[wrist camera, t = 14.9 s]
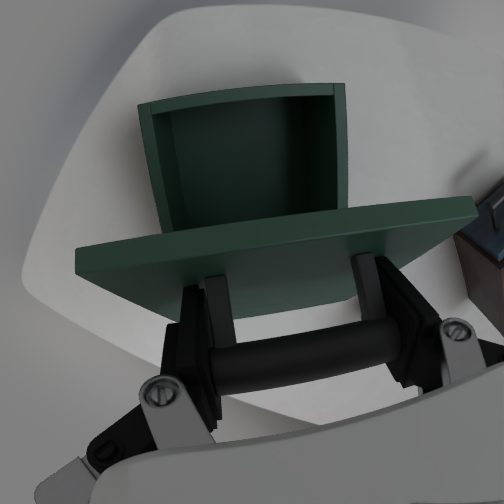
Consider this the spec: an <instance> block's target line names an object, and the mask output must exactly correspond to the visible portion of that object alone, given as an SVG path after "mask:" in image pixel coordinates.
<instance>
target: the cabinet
mask: <svg viewBox="0 0 504 504" xmlns="http://www.w3.org/2000/svg"><path fill="white" fill-rule="evenodd" d="M453 237H454V240H455V243H456V247H457V250H458V254H459V258H460V262H461V265H462V269H463V274H464V278H465V282H466V286H467V291H468V296H469V299H470V300H471V301H472V302H473V303H474V304H475V305H476V306H477V308H478V309H479V310H480V311H481V312H482V313H483V314H484V315H485V316H486V317H487V318H488V320H489V321H490V322H491V323H492V324H493V325H494V326H495V327H496V329H497V330H498V331H499V332H500V333H501V335H502V336H503V337H504V260H503V261H502V262H501V263H500V262H498V261H497V260H495V259H494V258H493V257H492V256H490V255H489V254H488V253H487V252H485V251H484V250H483V249H482V248H480V247H479V246H478V245H477V244H475V243H474V242H473V241H472V240H470V239H469V238H468V237H466V236H465V235H464V234H462V233H461V232H460V231H457V232H456V233H454V234H453Z"/></svg>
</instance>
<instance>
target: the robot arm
mask: <svg viewBox="0 0 504 504" xmlns="http://www.w3.org/2000/svg"><path fill="white" fill-rule="evenodd" d="M374 259H375V263H376V267H377V271H378V275H379V279H380V284H381V288H382V293H383V297H384V302H385V307H386V311H387V315H390V316H392V317H393V318H394V319H395V321H396V322H397V324H398V326H399V329H400V332H401V337H402V350H401V354H400V356H399V357H398V358H397V359H396V360H393V361H390V362H386V365H387V367H388V369H389V370H390V372H391V374H392V376H393V377H394V379H395V381H396V382H400V383H401V385H402V387H403V389H404V388H407V387H410V386H413V385H416V386H418V397H415V398H412V399H409V400H406V401H404V402H401V403H398V404H395V405H392V406H389V407H386V408H382V409H379V410H376V411H373V412H369V413H366V414H363V415H359V416H356V417H352V418H348V419H344V420H341V421H337V422H333V423H329V424H324V425H320V426H316V427H311V428H307V429H302V430H297V431H292V432H287V433H282V434H276V435H271V436H264V437H258V438H251V439H244V440H237V441H229V442H221V443H216V442H215V441H214V439H213V437H212V435H211V434H210V433H211V432H212V431H213V429H217V420H222V407H221V396H218V395H217V394H216V392H215V390H214V386H213V382H212V377H211V370H210V361H209V351H210V348H211V347H214V346H213V339H212V332H211V325H210V318H209V310H208V302H207V297H206V292H205V289H204V288H202V289H199V286H198V285H195V286H188V287H183V294H182V303H181V312H180V321H179V323H171V324H167V327H166V333H165V340H164V347H163V355H162V362H161V371H160V375H158V376H154V377H152V378H150V379H148V380H147V381H146V382H145V383H144V384H143V385H142V387H141V388H140V391H139V400H140V404H139V405H138V406H137V407H135V408H134V409H133V410H131V411H130V412H129V413H128V414H126V415H125V416H123V417H122V418H121V419H119V420H118V421H117V422H115V423H114V424H113V425H111V426H110V427H109V428H107V429H106V430H105V431H103V432H102V433H101V434H99V435H98V436H97V437H95V438H94V439H93V440H92V441H91V442H90V444H89V446H88V448H87V452H86V456H84V457H83V458H82V459H81V458H80V457H77V458H76V459H74V460H73V461H71V462H70V463H68V464H67V465H66V466H65V467H63V468H61V469H60V470H59V471H57V472H56V473H54V474H53V475H51V476H50V477H48V478H47V479H46V480H44V481H43V482H41V483H40V484H39V485H38V486H37V487H36V490H35V492H34V499H35V502H36V504H504V346H503V345H499V344H496V343H492V342H489V341H485V340H482V339H478V338H477V336H476V333H475V330H474V329H473V327H472V326H471V325H470V324H469V323H468V322H467V321H465V320H463V319H460V318H447V319H445V320H443V321H442V320H441V318H440V317H439V314H438V313H437V312H436V311H435V310H434V308H433V307H432V306H431V305H430V304H429V303H428V302H427V300H426V299H425V298H424V297H423V296H422V295H421V294H420V293H419V291H418V290H417V289H416V288H415V287H414V286H413V285H412V284H411V283H410V281H409V280H408V279H407V278H406V277H405V276H404V275H403V274H402V273H401V272H400V271H399V270H398V268H397V267H396V266H395V265H394V264H393V263H392V262H391V261H390V260H389V259H388V258H387V257H386V256H381V257H375V258H374ZM361 319H362V320H363V318H362V314H361Z"/></svg>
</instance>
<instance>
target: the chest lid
mask: <svg viewBox="0 0 504 504" xmlns="http://www.w3.org/2000/svg"><path fill="white" fill-rule="evenodd" d="M478 216H479V214H478V211H477V208H476V206H475V203H474V200H473V198H472V196H461V197H449V198H438V199H427V200H417V201H407V202H397V203H388V204H378V205H369V206H360V207H352V208H343V209H334V210H326V211H318V212H310V213H302V214H294V215H286V216H279V217H271V218H264V219H257V220H249V221H242V222H235V223H228V224H221V225H215V226H208V227H201V228H194V229H188V230H181V231H175V232H169V233H162V234H156V235H150V236H144V237H138V238H132V239H126V240H120V241H114V242H108V243H103V244H97V245H91V246H86V247H80V248H76V250H75V274H76V275H78V276H80V277H82V278H84V279H86V280H87V281H89V282H91V283H93V284H95V285H97V286H99V287H101V288H103V289H105V290H108V291H110V292H112V293H114V294H116V295H118V296H120V297H122V298H124V299H126V300H128V301H131V302H133V303H135V304H137V305H139V306H141V307H144V308H146V309H148V310H150V311H152V312H155V313H157V314H159V315H161V316H164V317H166V318H168V319H171V320H173V321H175V322H178V323H179V321H180V312H181V303H182V294H183V287H188V286H195V285H198V286H199V289H202V288H204V289H205V292H206V297H207V302H208V310H209V318H210V325H211V332H212V339H213V346H214V347H211V348H210V351H209V361H210V370H211V377H212V382H213V386H214V390H215V392H216V394H217V395H218V396H223V395H232V394H239V393H246V392H253V391H260V390H266V389H272V388H278V387H284V386H289V385H294V384H300V383H305V382H310V381H314V380H319V379H324V378H328V377H332V376H337V375H341V374H345V373H349V372H353V371H357V370H361V369H365V368H369V367H372V366H376V365H379V364H383V363H386V362H390V361H393V360H396V359H397V358H398V357H399V356H400V354H401V350H402V337H401V332H400V329H399V326H398V324H397V322H396V321H395V319H394V318H393V317H392V316H390V315H387V311H386V307H385V302H384V297H383V293H382V288H381V284H380V279H379V275H378V271H377V267H376V263H375V259H374V258H375V257H381V256H386V257H387V258H388V259H389V260H390V261H391V262H392V263H393V264H394V265H395V266H396V267H397V268H398V270H399V269H400V268H402V267H404V266H405V265H407V264H408V263H410V262H412V261H413V260H415V259H416V258H418V257H419V256H421V255H423V254H424V253H426V252H427V251H429V250H430V249H432V248H433V247H435V246H436V245H438V244H439V243H441V242H442V241H444V240H445V239H447V238H448V237H450V236H451V235H453V234H454V233H456V232H457V231H459V230H460V229H462V228H463V227H465V226H466V225H467V224H469V223H470V222H472V221H473V220H475V219H476V218H477V217H478ZM357 294H358V298H359V303H360V308H361V313H362V318H363V320H362V321H357V322H353V323H348V324H344V325H339V326H334V327H329V328H324V329H319V330H314V331H309V332H303V333H298V334H293V335H287V336H281V337H275V338H269V339H263V340H257V341H250V342H243V343H237V342H236V335H235V329H234V322H233V320H234V319H241V318H247V317H254V316H260V315H267V314H273V313H279V312H285V311H291V310H297V309H303V308H308V307H314V306H319V305H325V304H330V303H335V302H340V301H345V300H348V299H349V298H351V297H353V296H355V295H357Z"/></svg>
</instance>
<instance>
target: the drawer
mask: <svg viewBox="0 0 504 504" xmlns="http://www.w3.org/2000/svg"><path fill="white" fill-rule="evenodd" d="M477 211H478V214H479V216H478V217H477V218H476V219H475V220H473V221H472V222H470V223H469V224H467V225H466V226H465V227H463V228H462V229H460V230H459V231H460V232H461V233H462V234H464V235H465V236H466V237H468V238H469V239H470V240H472V241H473V242H474V243H475V244H477V245H478V246H479V247H480V248H482V249H483V250H484V251H485V252H487V253H488V254H489V255H490V256H492V257H493V258H494V259H495V260H497V261H498V262H500V263H501V262H502V261H503V260H504V183H503V184H502V185H501V186H500V187H499V188H498V189H497V190H496V191H495V192H494V193H492V194H491V195H490V196H489V197H488V198H487V199H486V200H485V201H484V202H482V203H481V204H480V205H479V206H478V207H477Z"/></svg>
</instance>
